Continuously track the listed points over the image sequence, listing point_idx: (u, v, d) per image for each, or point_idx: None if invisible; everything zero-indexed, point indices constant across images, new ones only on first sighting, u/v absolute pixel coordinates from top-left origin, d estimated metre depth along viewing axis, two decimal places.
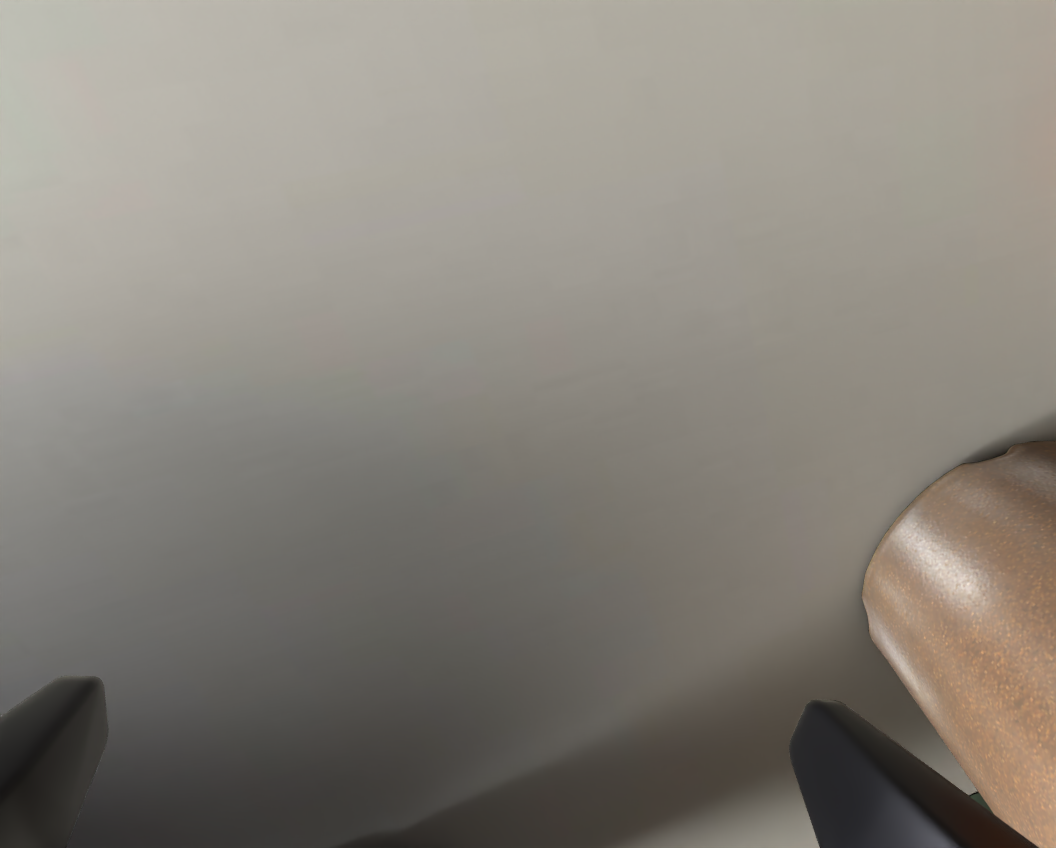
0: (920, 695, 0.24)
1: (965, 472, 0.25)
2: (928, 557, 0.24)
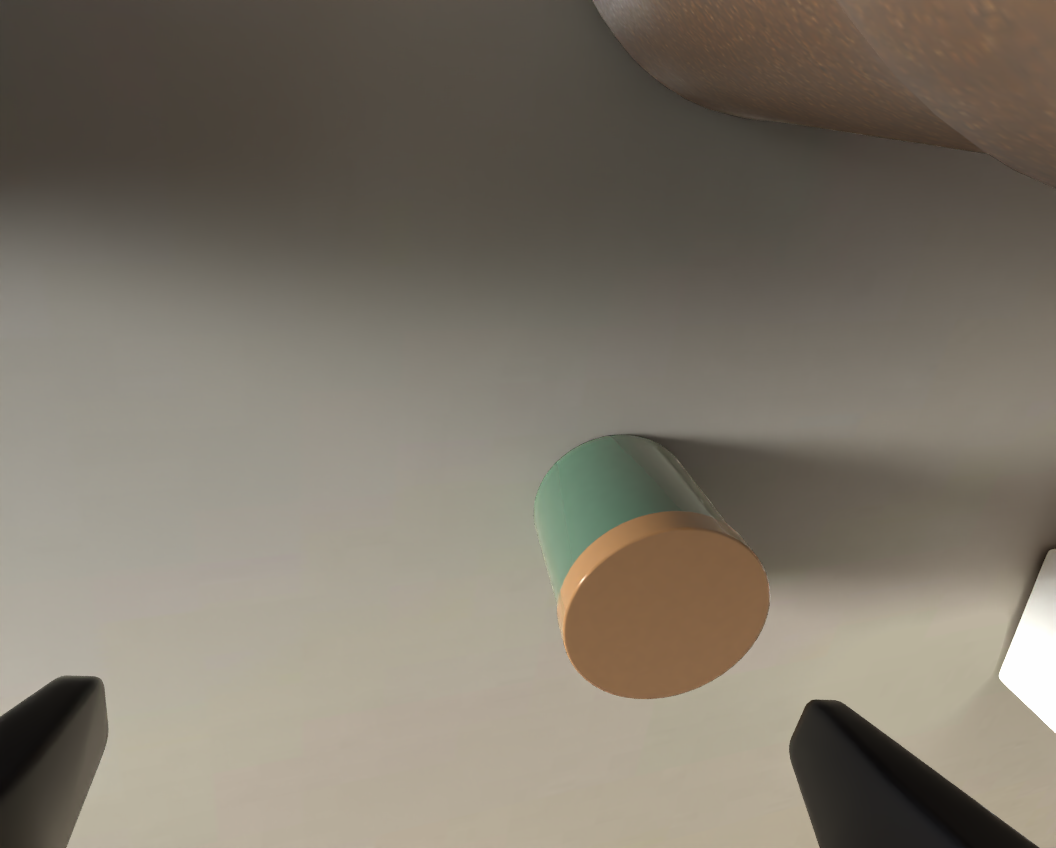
0: None
1: None
2: None
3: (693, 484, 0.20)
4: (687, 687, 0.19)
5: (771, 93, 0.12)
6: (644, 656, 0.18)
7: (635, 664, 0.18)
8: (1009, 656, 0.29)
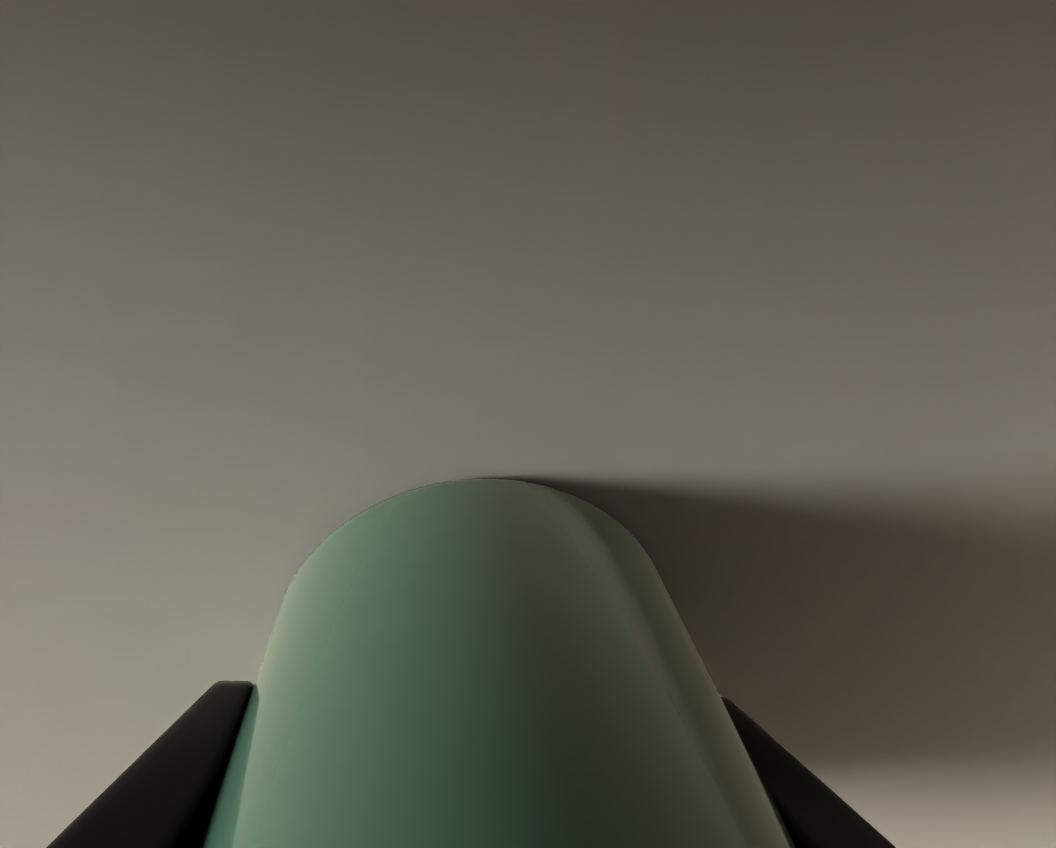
0: None
1: None
2: None
3: (662, 645, 0.06)
4: None
5: None
6: None
7: None
8: None
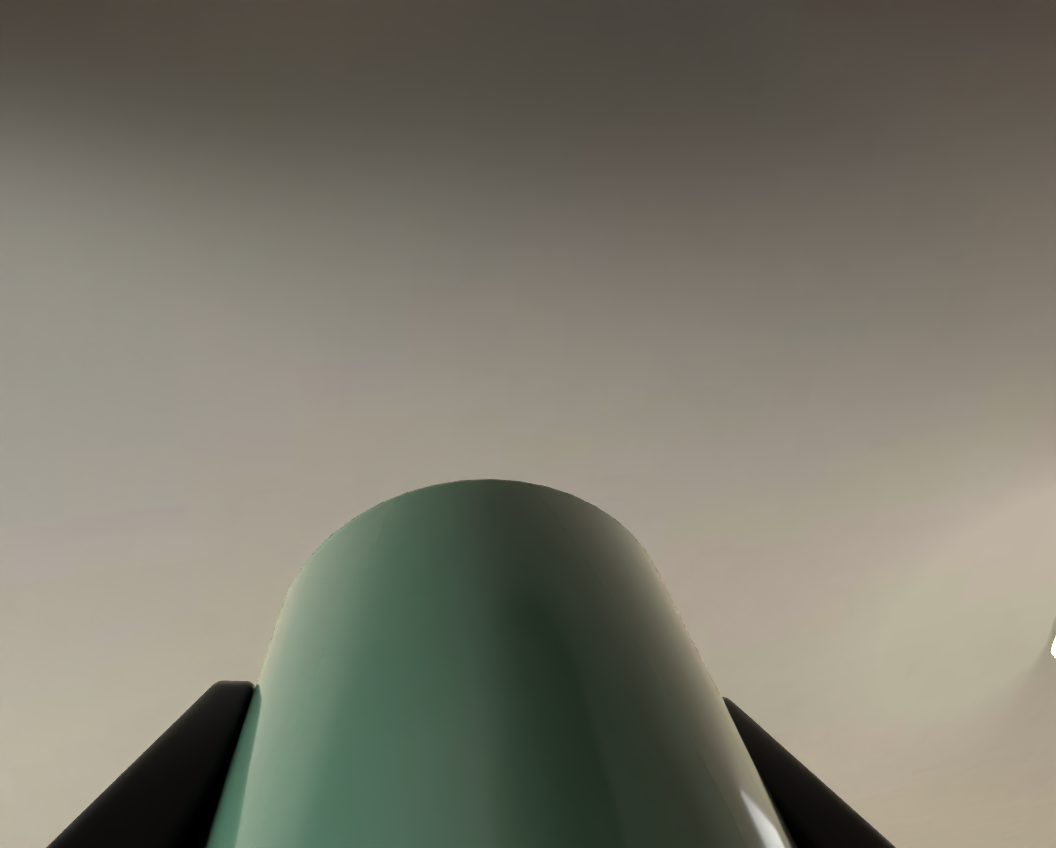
0: None
1: None
2: None
3: (663, 645, 0.06)
4: None
5: None
6: None
7: None
8: None
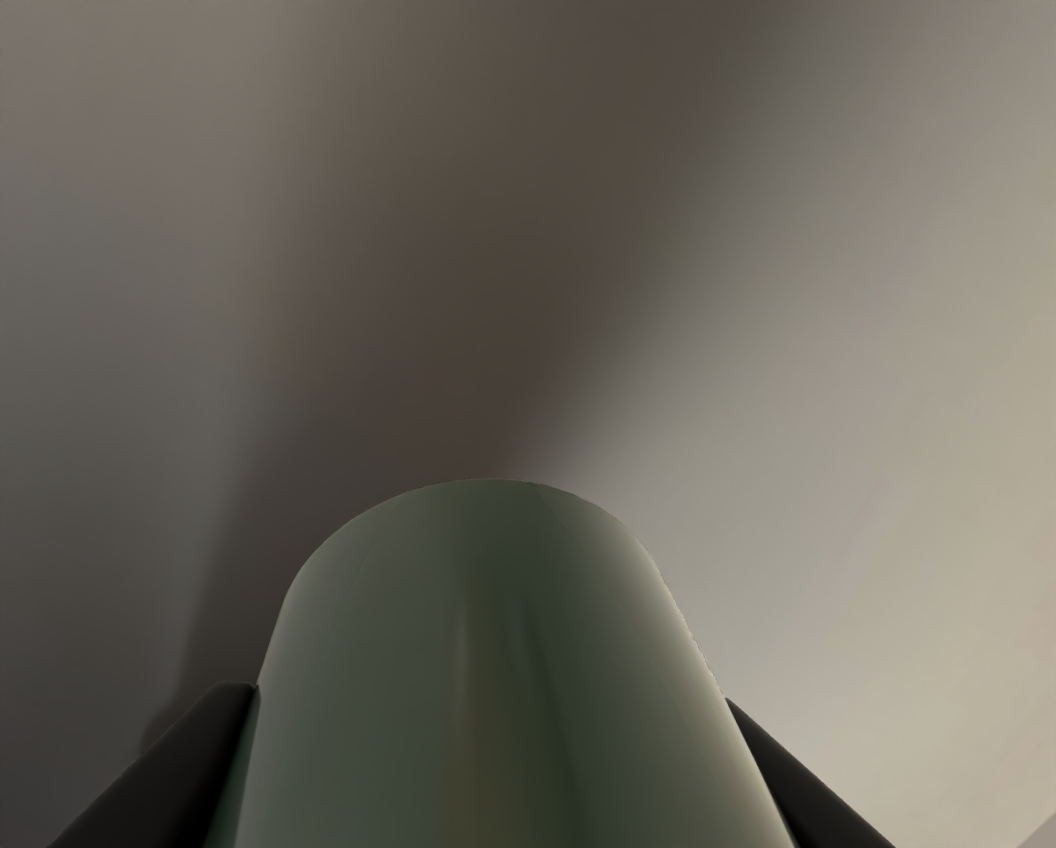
0: None
1: None
2: None
3: (665, 645, 0.06)
4: None
5: None
6: None
7: None
8: None
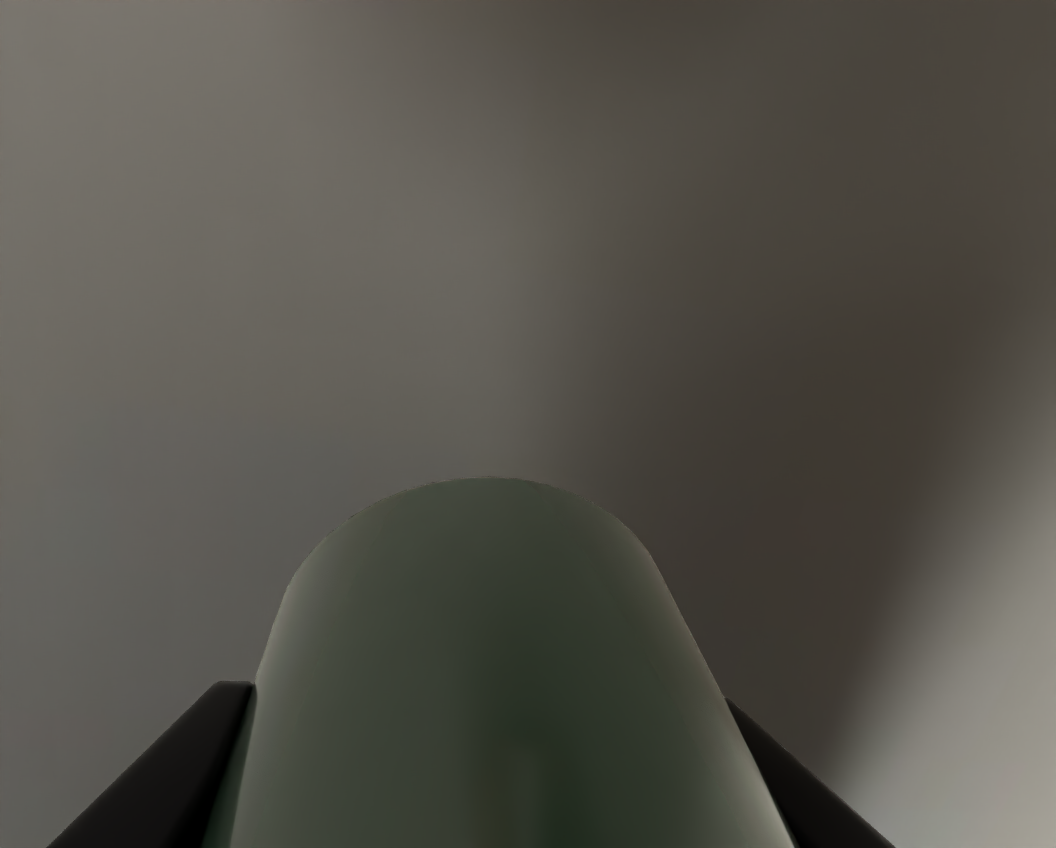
0: None
1: None
2: None
3: (664, 644, 0.06)
4: None
5: None
6: None
7: None
8: None
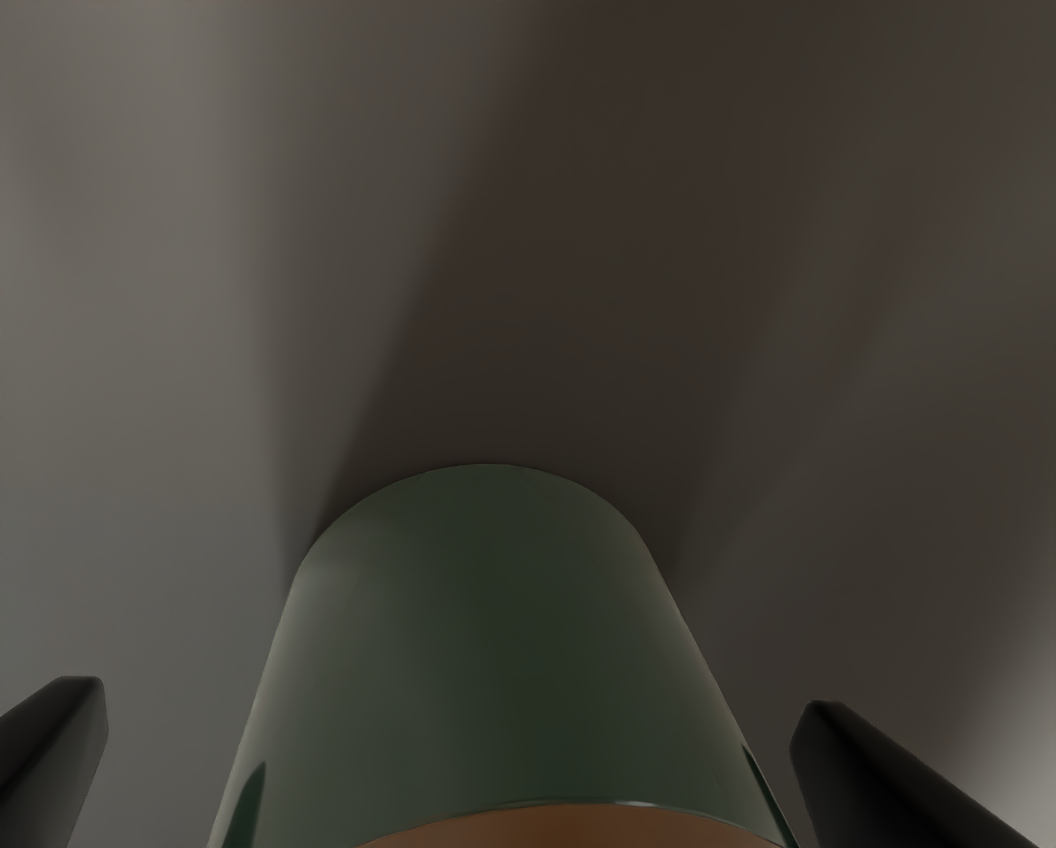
0: None
1: None
2: None
3: (651, 615, 0.07)
4: None
5: None
6: None
7: None
8: None
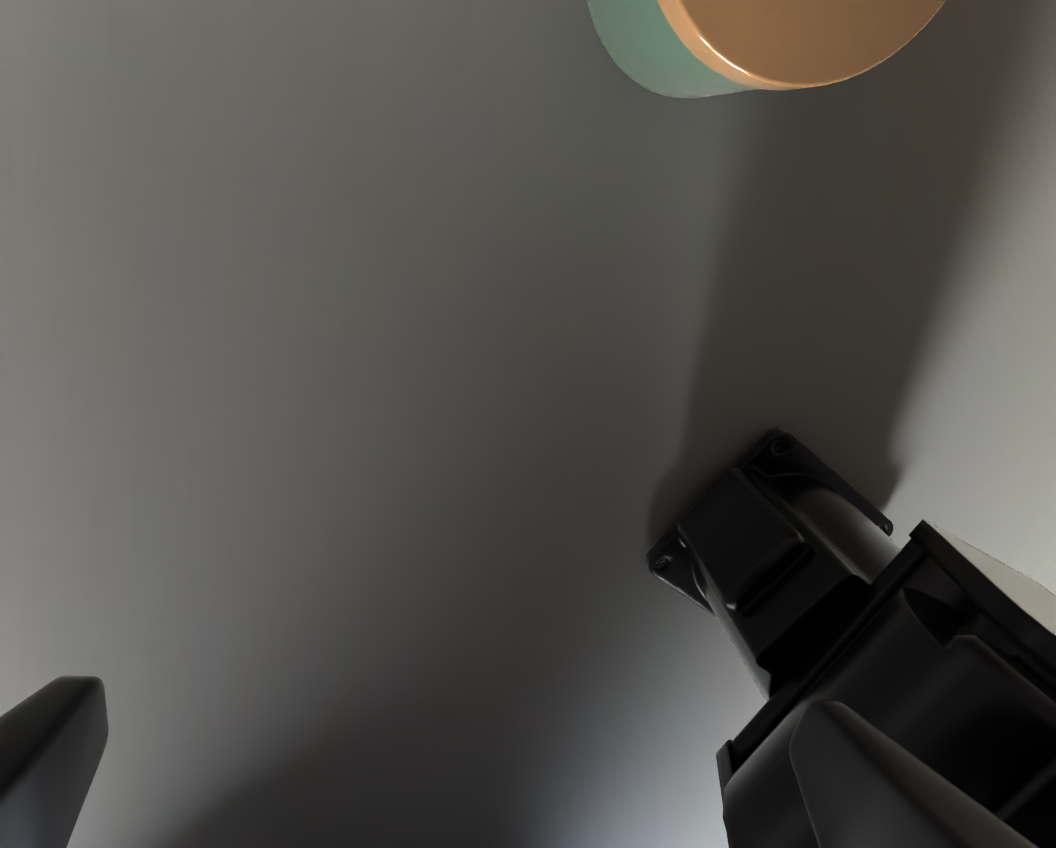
0: None
1: None
2: None
3: None
4: (848, 66, 0.11)
5: None
6: None
7: None
8: None
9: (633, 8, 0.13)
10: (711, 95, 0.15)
